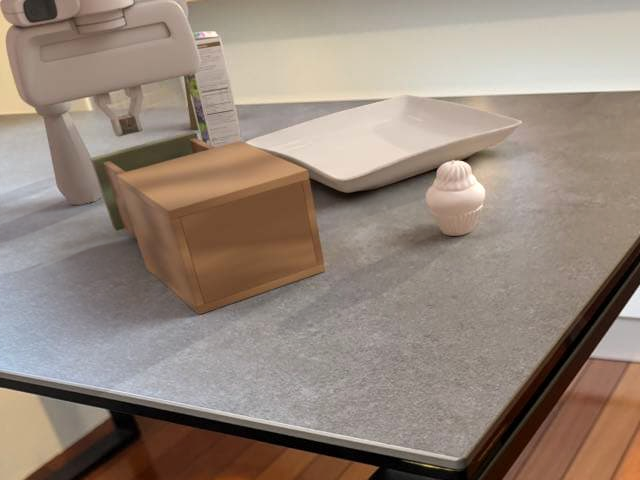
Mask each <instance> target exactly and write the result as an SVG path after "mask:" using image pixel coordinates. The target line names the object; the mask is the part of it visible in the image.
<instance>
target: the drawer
mask: <svg viewBox="0 0 640 480" xmlns="http://www.w3.org/2000/svg"><path fill="white" fill-rule="evenodd" d="M213 148H216V147H213V146H211V145H209V144H207V143H205V142H203V141H201V139H199V137H198V133H197V132H196V131H193V130H192V131H189V132H185V133H180V134H176V135H173V136H169V137H166V138H161V139H158V140H154V141H150V142H147V143H142V144H138V145H135V146H131V147H126V148H123V149H119V150H115V151H112V152H108V153H104V154H99V155H96V156H91V158H90V161H91V164H92V167H93V170H94V172H95V175H96V178H97V181H98V184H99V187H100V190H101V193H102V198H103V201H104V204H105V207H106V211H107V213H108V216H109V219H110V222H111V225H112V228H113V229H114V230H115V231H121V230H123V229H124V230H125V231H126V232H128V233H129V234H130V235H131V236H132V237H134V238H135V239H136V240H137V238H136V235H135V231H134V228H133V225H132V222H131V219H130V216H129V213H128V210H127V207H126V204H125V201H124V198H123V195H122V192H121V189H120V186H119V183H118V180H117V176H116V175H117V174H121V173H124V172H128V171H132V170H135V169H139V168H143V167H147V166H150V165H154V164H158V163H161V162H165V161H169V160H172V159H176V158H180V157H183V156H187V155H191V154H194V153H198V152H202V151H205V150H209V149H213Z"/></svg>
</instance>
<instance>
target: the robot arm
mask: <svg viewBox="0 0 640 480" xmlns="http://www.w3.org/2000/svg"><path fill="white" fill-rule="evenodd" d="M0 11H1V14H2V16H3V17H4V19H5V21H6V22H8V24H11V26H10V27H8V30H7V32H6V35H5V48H6V54H7V59H8V63H9V67H10V70H11V74H12V78H13V81H14V85H15V87H16V91H17V93H18V96H19V97H20V99H21V100H22V101H23V102H24V103H25V104H27V105H28V106H30V107H31V108H33V109H35V108H41V107H46V106H51V105H55V104H60V103H64V102H69V101H70V102H73V101H78V100H81V99H87V98H90V97H92V99H93V102H94V104H95V105H96V106H97V107H98V109H99V110H100V111H101V112H102V113H103V114H104V115H105V117H107V118H108V119H109V120H110V123H111V127H112V130H113V133H114V135H115V136H116V137H118V138H119V137H123V136H127V135H132V134H137V133H140V132H143V126H142V122H141V120H140V119H141V118H140V113H141V110H142V105H143V101H144V94H143V89H142V87H141V86H145V85H150V84H155V83H157V82H163V81H168V80H172V79H176V78H177V79H178V78H182V77H184V76H186V75H191V74H195V73H197V72H198V69H199V66H200V63H201V60H200V56H199V52H198V48H197V45H196V42H195V39H194V36H193V33H194V32H193V30H192V27H191V25H190V22H189V20H188V19H189V7H188V3H187V0H0ZM122 90H124V93H125V96H126V97H128V98H130V100H129V107H128V113H126V114H122V115H117V114H116V113H115V112H114V111H113V110H112V109H111V107H109V105H111V104H112V99H111V94H110V93H113V92H118V91H122Z"/></svg>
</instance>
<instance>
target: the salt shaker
mask: <svg viewBox="0 0 640 480" xmlns="http://www.w3.org/2000/svg"><path fill="white" fill-rule="evenodd" d="M71 109H72V106H71V101H69V102H64V103H60V104H55V105H51V106H46V107H41V108H34V110H35V113H36V114H37V115H38V116H41V117H42V118H43V123H44V127H45V133H46V136H47V142H48V147H49V153H50V157H51V162H52V168H53V173H54V177H55V183H56V184H55V185H56V187H57V189H58V191H59V192H60V194H61V195H62V196H63V197H64V198H65V199H66V201H67V202H68V203H69V204H70V205H75V206H76V205H77V206H83V205H87V204H91V203H90V202H92V203H95V202H96V201H98V200H100V199H101V198H103V196H102V193H101V190H100V187H99V184H98V181H97V178H96V175H95V172H94V170H93V167H92V164H91V161H90V158H92V155H91V154H90V153H89V150H88V148H87V146H86V144H85V143H84V141H83V138H82V136H81V134H80V132H79V131H78V129H77V127H76V125H75V123H74V120H73V118H72V117H71V115H70V113H69V111H70V110H71ZM99 198H100V199H99ZM94 201H95V202H94ZM86 203H87V204H86Z"/></svg>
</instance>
